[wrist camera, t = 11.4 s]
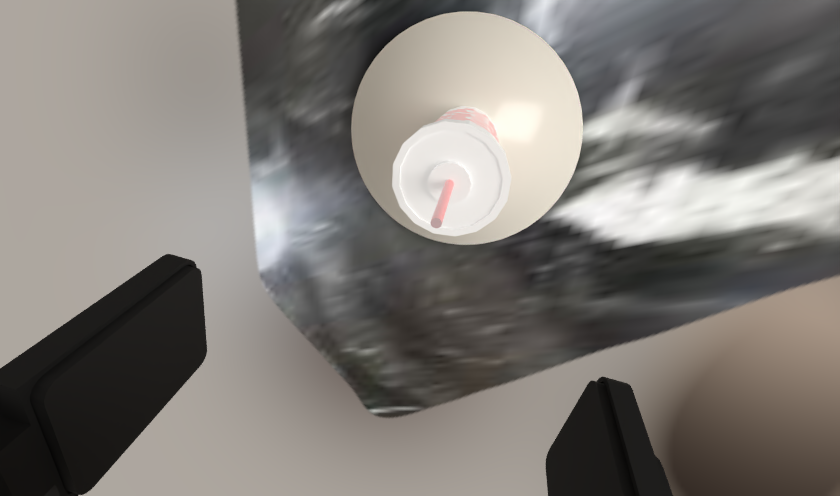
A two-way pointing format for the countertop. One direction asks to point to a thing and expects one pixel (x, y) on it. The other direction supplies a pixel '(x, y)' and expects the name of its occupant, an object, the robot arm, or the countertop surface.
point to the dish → (472, 87)
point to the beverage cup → (453, 173)
